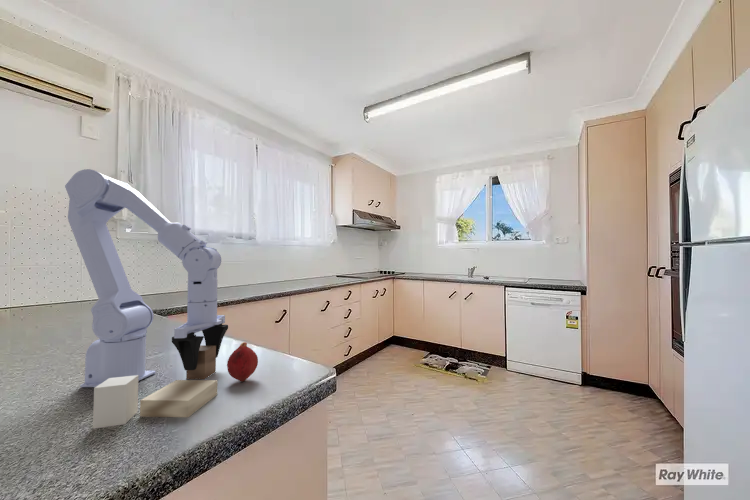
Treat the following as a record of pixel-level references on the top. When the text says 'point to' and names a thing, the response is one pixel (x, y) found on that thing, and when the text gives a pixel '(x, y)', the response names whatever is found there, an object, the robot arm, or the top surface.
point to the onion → (242, 362)
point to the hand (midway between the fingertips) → (202, 363)
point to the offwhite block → (115, 401)
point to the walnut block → (204, 363)
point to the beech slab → (178, 398)
